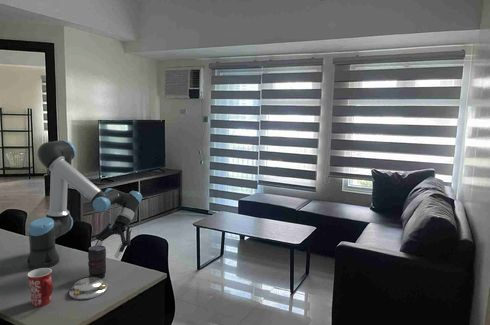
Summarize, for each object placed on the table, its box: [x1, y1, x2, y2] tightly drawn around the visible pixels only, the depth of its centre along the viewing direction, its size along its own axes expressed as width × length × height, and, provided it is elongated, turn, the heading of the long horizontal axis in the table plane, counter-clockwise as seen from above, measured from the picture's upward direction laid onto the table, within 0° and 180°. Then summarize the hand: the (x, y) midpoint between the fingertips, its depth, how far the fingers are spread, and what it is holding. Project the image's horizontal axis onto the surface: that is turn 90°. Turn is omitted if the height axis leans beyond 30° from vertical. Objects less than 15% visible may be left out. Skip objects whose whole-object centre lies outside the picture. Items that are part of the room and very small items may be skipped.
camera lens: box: [87, 244, 107, 279], centre depth 176 cm, size 8×8×15 cm
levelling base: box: [68, 277, 108, 301], centre depth 163 cm, size 16×16×4 cm
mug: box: [27, 267, 54, 307], centre depth 151 cm, size 13×9×14 cm
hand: (105, 255), depth 179 cm, fingers open, 13 cm apart
